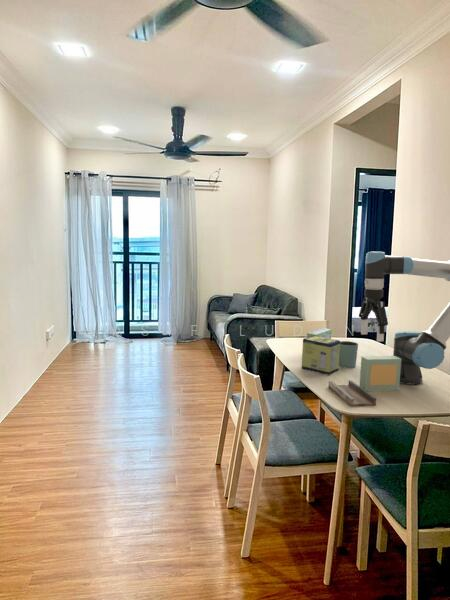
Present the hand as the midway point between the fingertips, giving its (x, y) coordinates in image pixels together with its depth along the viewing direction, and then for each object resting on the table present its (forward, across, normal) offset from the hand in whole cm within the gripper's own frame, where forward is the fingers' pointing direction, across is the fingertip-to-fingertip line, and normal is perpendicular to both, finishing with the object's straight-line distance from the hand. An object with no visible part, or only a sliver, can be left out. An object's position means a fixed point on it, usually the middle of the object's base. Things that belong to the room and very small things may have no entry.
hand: (371, 337), depth 185 cm
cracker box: (+23, -1, +5) cm, 24 cm away
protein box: (+23, -30, -11) cm, 39 cm away
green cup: (+23, -36, +6) cm, 43 cm away
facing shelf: (+23, +7, -12) cm, 27 cm away
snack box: (+23, -53, -3) cm, 58 cm away
